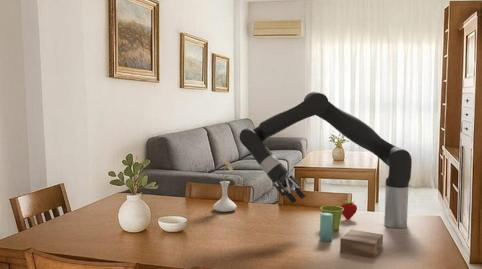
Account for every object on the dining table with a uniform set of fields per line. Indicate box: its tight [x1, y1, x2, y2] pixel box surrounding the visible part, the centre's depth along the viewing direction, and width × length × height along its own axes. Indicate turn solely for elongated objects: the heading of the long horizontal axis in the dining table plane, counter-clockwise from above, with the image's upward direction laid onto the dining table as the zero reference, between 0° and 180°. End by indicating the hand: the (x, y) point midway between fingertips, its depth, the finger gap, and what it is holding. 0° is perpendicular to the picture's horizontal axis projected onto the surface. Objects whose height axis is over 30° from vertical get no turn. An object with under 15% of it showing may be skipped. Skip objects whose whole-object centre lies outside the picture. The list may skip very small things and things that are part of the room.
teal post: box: [319, 212, 333, 243], centre depth 178 cm, size 5×5×10 cm
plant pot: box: [320, 205, 344, 232], centre depth 193 cm, size 9×9×9 cm
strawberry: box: [339, 200, 358, 221], centre depth 206 cm, size 6×8×10 cm
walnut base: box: [339, 229, 384, 259], centre depth 168 cm, size 12×12×5 cm
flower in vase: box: [212, 157, 238, 213], centre depth 221 cm, size 13×11×25 cm
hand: (299, 199), depth 183 cm, fingers open, 8 cm apart
